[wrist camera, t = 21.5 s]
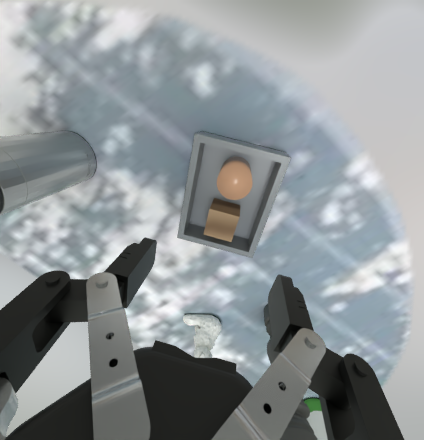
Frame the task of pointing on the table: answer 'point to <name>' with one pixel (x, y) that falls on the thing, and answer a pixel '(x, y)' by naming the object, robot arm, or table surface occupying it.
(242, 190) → the tan cylinder
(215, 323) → the white creature statuette
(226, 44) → the table surface
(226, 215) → the walnut cube
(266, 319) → the candle holder
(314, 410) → the wine bottle
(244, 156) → the grey tote
